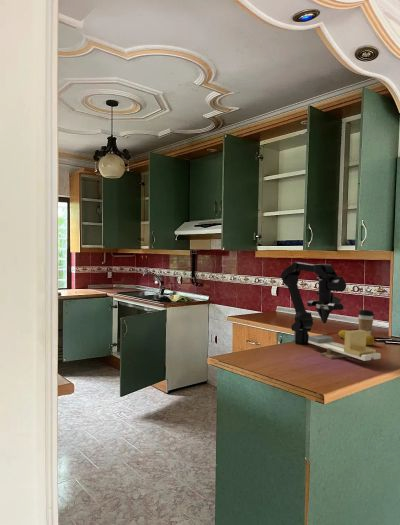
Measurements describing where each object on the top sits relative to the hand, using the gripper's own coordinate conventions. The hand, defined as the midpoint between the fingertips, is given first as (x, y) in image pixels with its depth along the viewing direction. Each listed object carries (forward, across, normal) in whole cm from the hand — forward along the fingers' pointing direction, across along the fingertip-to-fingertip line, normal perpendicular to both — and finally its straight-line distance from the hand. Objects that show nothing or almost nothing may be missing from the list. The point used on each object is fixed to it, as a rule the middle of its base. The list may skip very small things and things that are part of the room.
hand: (324, 323), depth 182 cm
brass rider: (+10, -20, -2) cm, 22 cm away
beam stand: (+14, -8, -1) cm, 16 cm away
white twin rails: (+11, -10, -1) cm, 15 cm away
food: (+13, +11, -30) cm, 35 cm away
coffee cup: (+12, +20, -47) cm, 52 cm away
